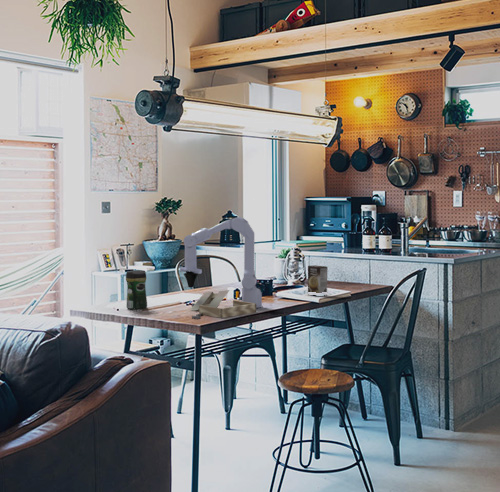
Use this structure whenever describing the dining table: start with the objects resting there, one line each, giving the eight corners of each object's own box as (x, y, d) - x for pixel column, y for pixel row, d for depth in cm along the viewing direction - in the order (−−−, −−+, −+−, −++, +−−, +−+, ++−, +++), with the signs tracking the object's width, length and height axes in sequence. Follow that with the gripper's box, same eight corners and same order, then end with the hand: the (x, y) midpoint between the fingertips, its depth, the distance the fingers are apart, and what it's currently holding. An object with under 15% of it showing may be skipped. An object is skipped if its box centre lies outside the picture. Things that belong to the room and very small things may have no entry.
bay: (234, 308, 331) (234, 300, 331) (256, 312, 320) (256, 303, 320) (199, 313, 316) (199, 305, 316) (220, 317, 305) (220, 309, 305)
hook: (201, 315, 313) (201, 312, 313) (207, 315, 312) (207, 313, 311) (191, 318, 304) (191, 316, 304) (198, 319, 303) (198, 316, 303)
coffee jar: (140, 306, 339) (139, 268, 338) (149, 308, 333) (149, 270, 332) (123, 308, 332) (122, 270, 331) (132, 310, 327) (132, 271, 325)
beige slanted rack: (225, 320, 321) (236, 296, 331) (216, 308, 317) (227, 284, 326) (198, 322, 331) (209, 299, 340) (188, 310, 326) (200, 287, 335)
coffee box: (307, 295, 375) (307, 265, 373) (315, 294, 379) (315, 265, 378) (319, 297, 368) (319, 267, 367) (327, 295, 372) (327, 266, 371)
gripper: (174, 259, 338) (175, 286, 339) (193, 261, 328) (193, 289, 329) (186, 258, 343) (186, 285, 344) (205, 260, 333) (205, 288, 334)
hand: (190, 287), depth 337 cm, fingers closed
